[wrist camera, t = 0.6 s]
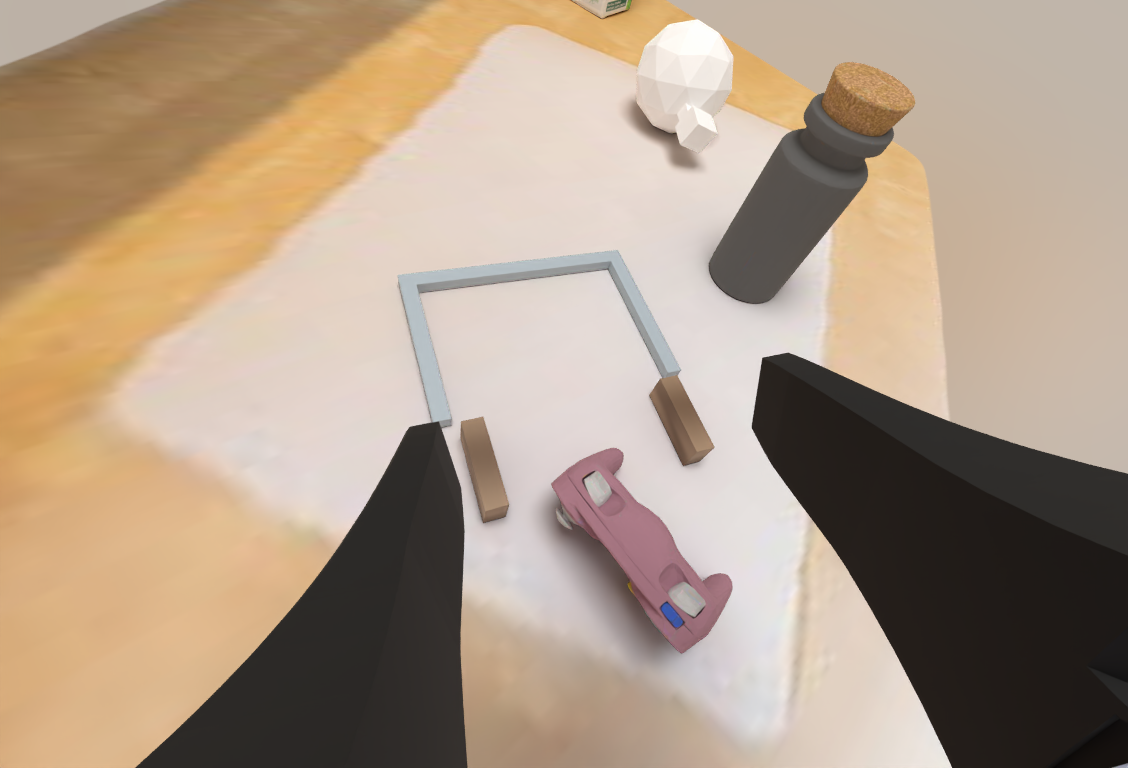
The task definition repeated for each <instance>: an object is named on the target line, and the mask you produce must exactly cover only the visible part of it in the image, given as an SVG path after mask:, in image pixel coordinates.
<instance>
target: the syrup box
mask: <svg viewBox="0 0 1128 768" xmlns="http://www.w3.org/2000/svg"><path fill="white" fill-rule="evenodd" d="M572 1H574V2H575V3H576V4H578V5H579V6H581V7H583V8H584V9H586V10H588V11H589V12H591V13H593V14H595V15H596V16H598V17H600V18H605V17H606V16H608V15H611V14H615V13H618V12H621V11H624V10H628V9H629V8H630V4H631V0H572Z"/></svg>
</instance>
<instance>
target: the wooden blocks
mask: <svg viewBox="0 0 1128 768" xmlns="http://www.w3.org/2000/svg"><path fill="white" fill-rule="evenodd" d="M650 398H651V400H652V402H653V404H654V406H655V408H656V410H657V412H658V414H659V416H660V418H661V420H662V423H663V425H664V427H665V429H666V431H667V433H668V435H669V437H670V439H671V441H672V443H673V446H674V448H675V450H676V452H677V454H678V456H679V458H680V460H681V462H682V464H683V466H684V465H688V464H691V463H695V462H698V461H701V460H702V459H703V458H704V457H705V456H706V455H707V454H708V453H709V452H710V451H711V450H712V449H713V448H714V445H713V443H712V441H711V439H710V437H709V436H708V434H707V432H706V430H705V428H704V426H703V424H702V422H701V420H700V418H699V416H698V414H697V412H696V411H695V409H694V407H693V405H692V403H691V401H690V399H689V397H688V395H687V393H686V391H685V389H684V388H683V386H682V384H681V382H680V380H679V378H678V376H677V375H675V376H671V377H666V378H661V379H660V380H659V381H658V383H657V384H656V386H655V387H654V389H653V391H652V392H651V394H650ZM460 438H461V442H462V445H463V449H464V453H465V457H466V461H467V464H468V468H469V472H470V476H471V479H472V483H473V487H474V491H475V494H476V498H477V502H478V506H479V509H480V513H481V517H482V521H483V523H485V522H489V521H492V520H496V519H499V518H503V517H506V513H507V510H508V507H509V502H508V499H507V495H506V492H505V489H504V485H503V482H502V479H501V475H500V472H499V468H498V465H497V462H496V458H495V455H494V451H493V448H492V445H491V441H490V438H489V435H488V431H487V428H486V424H485V421H484V418H483V417H480V418H475V419H471V420H466V421H461V437H460Z"/></svg>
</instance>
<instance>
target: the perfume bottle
mask: <svg viewBox="0 0 1128 768" xmlns="http://www.w3.org/2000/svg"><path fill="white" fill-rule="evenodd" d="M732 72H733V55H732V53H731V52H730V50H729V48H728V47H727V45H726V44H725V42H724V40H723V39H722V37H721V35H720V34H719V33H718V32H716V31H715V30H713V29H712V28H710V27H709V26H707V25H705V24H704V23H702V22H701V21H699V20H698V19H697V20H692V21H686V22H680V23H674V24H668V25H667V26H666V27H665V28H664V29H663V30H662V31H661V32H660V33H659V34H658V35H656V36H655V37H654V38H653V39H652V40H651V41H650V42H649V43H648V44H647V45H646V46H645V47H644V50H643V53H642V56H641V60H640V63H639V66H638V69H637V89H636V103H637V104H638V105H639V107H640V108H641V110H642V111H643V112H644V114H645V115H646V117H647V118H648V119H649V121H650V122H651V124H652V125H653V126H655V127H657V128H660V129H662V130H664V131H666V132H668V133H677V135H678V139H679V142H680V145H681V146H684V147H686V148H688V149H690V150H692V151H694V152H697V153H700V152H701V151H702V150H703V149H704V148H705V147H706V146H707V145H708V144H709V142H710V141H711V140H712V139H713V138H714V137H715V136H716V135H717V134H718V133H717V130H716V127H715V124H714V121H713V117H714V116H715V115H716V114H718V113H719V112H720V110H721V108H722V106H723V105H724V103H725V101H726V99H727V97H728V96H729V94H730V92H731V90H732Z"/></svg>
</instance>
